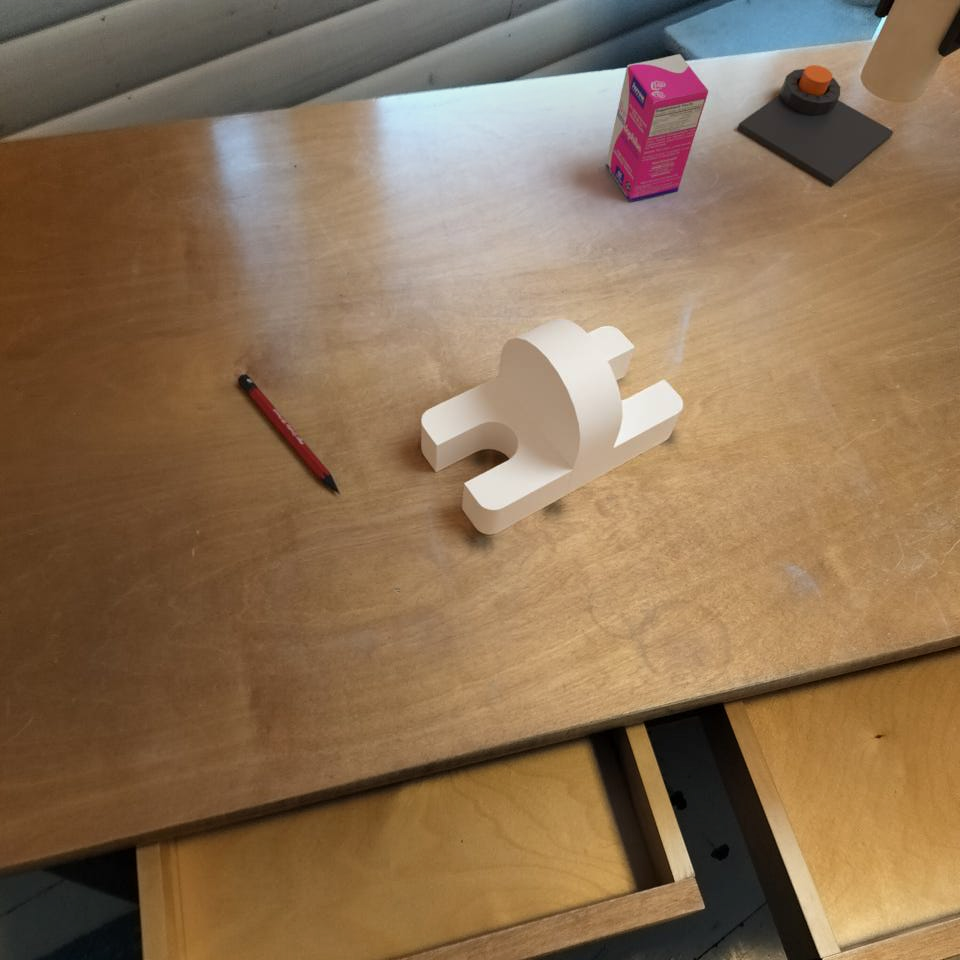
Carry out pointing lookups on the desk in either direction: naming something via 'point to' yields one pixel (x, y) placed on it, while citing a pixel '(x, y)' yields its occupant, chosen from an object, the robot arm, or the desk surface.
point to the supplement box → (655, 126)
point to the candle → (908, 49)
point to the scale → (815, 130)
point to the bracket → (548, 421)
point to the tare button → (815, 80)
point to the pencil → (287, 432)
